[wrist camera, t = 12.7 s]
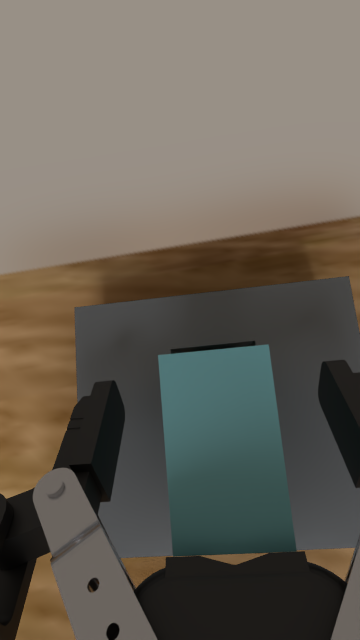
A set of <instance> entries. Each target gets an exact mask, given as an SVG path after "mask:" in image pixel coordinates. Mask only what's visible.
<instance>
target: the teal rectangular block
mask: <svg viewBox="0 0 360 640" xmlns="http://www.w3.org/2000/svg"><path fill="white" fill-rule="evenodd" d="M158 361H159V374H160V388H161V401H162V415H163V428H164V441H165V455H166V468H167V482H168V495H169V509H170V522H171V535H172V549H173V556H195V555H220V554H245V553H270V552H295V551H297V550H296V543H295V535H294V528H293V521H292V513H291V506H290V498H289V491H288V484H287V476H286V469H285V462H284V454H283V447H282V440H281V432H280V425H279V418H278V410H277V403H276V395H275V388H274V381H273V373H272V366H271V359H270V351H269V344H268V345H258V346H247V347H237V348H227V349H216V350H206V351H196V352H185V353H175V354H165V355H158Z"/></svg>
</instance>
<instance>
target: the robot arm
mask: <svg viewBox="0 0 360 640" xmlns="http://www.w3.org/2000/svg"><path fill="white" fill-rule="evenodd" d="M318 398H319V402H320V405H321V408H322V410H323V413H324V415H325V417H326V420H327V422H328V424H329V427H330V429H331V431H332V434H333V436H334V438H335V441H336V443H337V445H338V448H339V450H340V453H341V455H342V457H343V460H344V462H345V464H346V467H347V469H348V471H349V474H350V476H351V478H352V481H353V483H354V485H355V488H360V372H358V373H353V372H352V370H351V368H350V367H349V365H348V363H347V362H346V361H345V360H333V361H323V362H322V364H321V371H320V378H319V385H318ZM124 423H125V408H124V404H123V401H122V398H121V395H120V392H119V389H118V387H117V384H116V382H115V381H114V380H111V381H100V382H95V383H94V385H93V389H92V392H91V395H90V396H83V397H82V398H81V399H80V401H79V402H78V403H77V404H76V406H75V407H74V410H73V412H72V415H71V418H70V421H69V424H68V427H67V431H66V433H65V435H64V438H63V441H62V444H61V447H60V450H59V453H58V455H57V458H56V461H55V464H54V467H53V469H52V471H50V472H48V473H47V474H45V475H44V476H43V477H42V478H41V479H40V480H39V482H38V483H37V485H36V487H35V488H33V489H31V490H29V491H26V492H23V493H21V494H18V495H16V496H13V497H10V498H8V499H6V498H5V497H4V496H3V495H2V494H0V640H15V637H16V634H17V630H18V626H19V623H20V619H21V615H22V611H23V608H24V604H25V600H26V597H27V593H28V589H29V586H30V582H31V578H32V574H33V571H34V567H35V563H36V560H37V558H38V557H40V556H42V555H45V554H47V553H49V552H51V554H52V558H51V566H52V570H53V573H54V576H55V579H56V582H57V585H58V588H59V591H60V594H61V596H62V599H63V602H64V605H65V608H66V611H67V614H68V617H69V620H70V623H71V626H72V629H73V632H74V635H75V638H76V640H360V535H359V538H358V541H357V545H356V548H355V551H354V554H353V557H352V560H351V563H350V566H349V569H348V572H347V575H346V579H345V581H343V580H342V579H341V578H340V577H338V576H337V575H335V574H334V573H332V572H331V571H329V570H327V569H325V568H323V567H321V566H318V565H316V564H313V563H309V562H307V559H306V555H305V551H302V552H279V553H268V554H265V555H263V556H260V557H257V558H254V559H252V560H249V561H246V562H243V563H241V564H238V565H231V564H228V563H224V562H220V561H216V560H212V559H209V558H205V557H201V556H188V557H166V568H164V569H161V570H159V571H157V572H155V573H153V574H152V575H151V576H149V577H148V578H146V579H145V580H144V581H143V582H142V583H141V584H140V585H139V586H138V587H137V588H136V587H135V585H134V583H133V581H132V579H131V578H130V576H129V574H128V572H127V570H126V568H125V566H124V564H123V563H122V561H121V559H120V557H119V555H118V553H117V551H116V549H115V547H114V545H113V543H112V541H111V539H110V537H109V535H108V533H107V531H106V529H105V527H104V525H103V523H102V522H101V520H100V518H99V516H98V511H99V507H100V502H110V500H111V495H112V489H113V484H114V478H115V473H116V467H117V462H118V456H119V451H120V445H121V440H122V434H123V429H124Z"/></svg>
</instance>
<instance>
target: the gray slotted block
mask: <svg viewBox="0 0 360 640" xmlns="http://www.w3.org/2000/svg"><path fill="white" fill-rule="evenodd" d="M75 336H76V368H77V399H78V402H79V401H80V399H81V398H82V397H83V396H90V395H91V392H92V389H93V385H94V383H95V382H100V381H111V380H114V381H115V382H116V384H117V387H118V389H119V392H120V395H121V398H122V401H123V404H124V408H125V423H124V429H123V434H122V440H121V445H120V451H119V456H118V462H117V467H116V473H115V478H114V484H113V489H112V495H111V500H110V502H100V507H99V511H98V516H99V518H100V520H101V522H102V523H103V525H104V527H105V529H106V531H107V533H108V535H109V537H110V539H111V541H112V543H113V545H114V547H115V549H116V551H117V553H118V555H119V557H120V558H129V557H152V556H173V549H172V535H171V522H170V509H169V495H168V482H167V468H166V455H165V441H164V428H163V415H162V401H161V388H160V374H159V361H158V355H165V354H175V353H185V352H196V351H206V350H216V349H227V348H237V347H247V346H258V345H268V344H269V351H270V359H271V366H272V373H273V381H274V388H275V395H276V403H277V410H278V418H279V425H280V432H281V440H282V447H283V454H284V462H285V469H286V476H287V484H288V491H289V498H290V506H291V513H292V521H293V528H294V535H295V543H296V550H311V549H334V548H356V545H357V541H358V538H359V535H360V488H355V485H354V483H353V481H352V478H351V476H350V474H349V471H348V469H347V467H346V464H345V462H344V460H343V457H342V455H341V453H340V450H339V448H338V445H337V443H336V441H335V438H334V436H333V434H332V431H331V429H330V427H329V424H328V422H327V420H326V417H325V415H324V413H323V410H322V408H321V405H320V402H319V398H318V385H319V378H320V371H321V364H322V362H323V361H333V360H345V361H346V362H347V363H348V365H349V367H350V368H351V370H352V372H353V373H358V372H360V333H359V328H358V322H357V317H356V312H355V307H354V301H353V296H352V291H351V286H350V280H349V276H346V277H338V278H329V279H320V280H311V281H303V282H294V283H285V284H276V285H268V286H259V287H250V288H241V289H233V290H224V291H215V292H206V293H198V294H189V295H180V296H171V297H163V298H154V299H145V300H136V301H127V302H119V303H110V304H101V305H92V306H84V307H75Z"/></svg>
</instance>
